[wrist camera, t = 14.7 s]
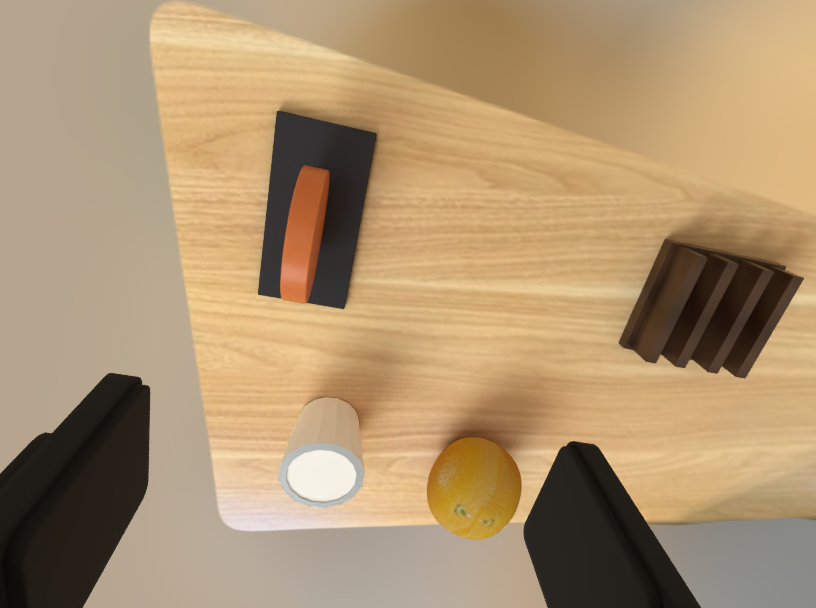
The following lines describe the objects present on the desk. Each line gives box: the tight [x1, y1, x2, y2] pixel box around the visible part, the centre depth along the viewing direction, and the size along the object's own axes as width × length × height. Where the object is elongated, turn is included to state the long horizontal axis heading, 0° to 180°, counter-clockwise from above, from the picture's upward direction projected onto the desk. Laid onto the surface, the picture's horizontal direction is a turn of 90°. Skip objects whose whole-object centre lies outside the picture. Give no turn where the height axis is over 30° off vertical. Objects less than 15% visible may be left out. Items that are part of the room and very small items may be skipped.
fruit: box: [427, 437, 521, 540], centre depth 43 cm, size 9×8×8 cm
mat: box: [258, 111, 376, 309], centre depth 35 cm, size 14×7×1 cm, turn 167°
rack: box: [619, 239, 804, 378], centre depth 40 cm, size 10×11×4 cm
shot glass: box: [279, 397, 364, 508], centre depth 40 cm, size 7×7×7 cm
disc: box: [280, 165, 330, 304], centre depth 31 cm, size 9×2×9 cm, turn 167°
